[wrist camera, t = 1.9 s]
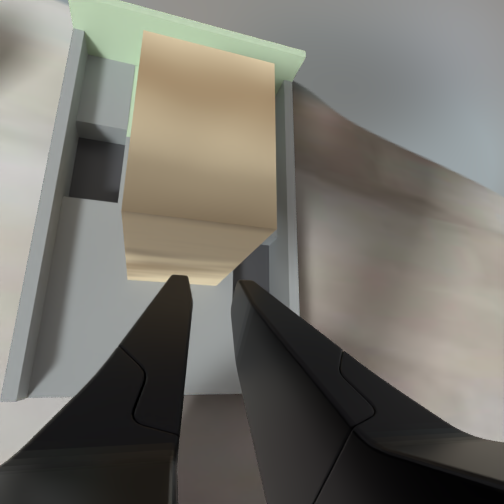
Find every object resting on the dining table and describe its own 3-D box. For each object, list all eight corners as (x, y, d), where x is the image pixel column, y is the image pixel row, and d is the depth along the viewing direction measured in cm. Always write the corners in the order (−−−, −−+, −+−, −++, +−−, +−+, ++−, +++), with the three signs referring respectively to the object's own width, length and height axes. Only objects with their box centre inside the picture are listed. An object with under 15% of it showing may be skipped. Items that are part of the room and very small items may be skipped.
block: (216, 285, 21) (277, 229, 12) (127, 279, 20) (121, 210, 11) (220, 179, 23) (274, 63, 14) (139, 167, 22) (143, 30, 13)
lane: (276, 390, 23) (321, 399, 17) (24, 394, 19) (-21, 407, 13) (273, 110, 29) (305, 51, 23) (82, 68, 25) (68, -14, 19)
